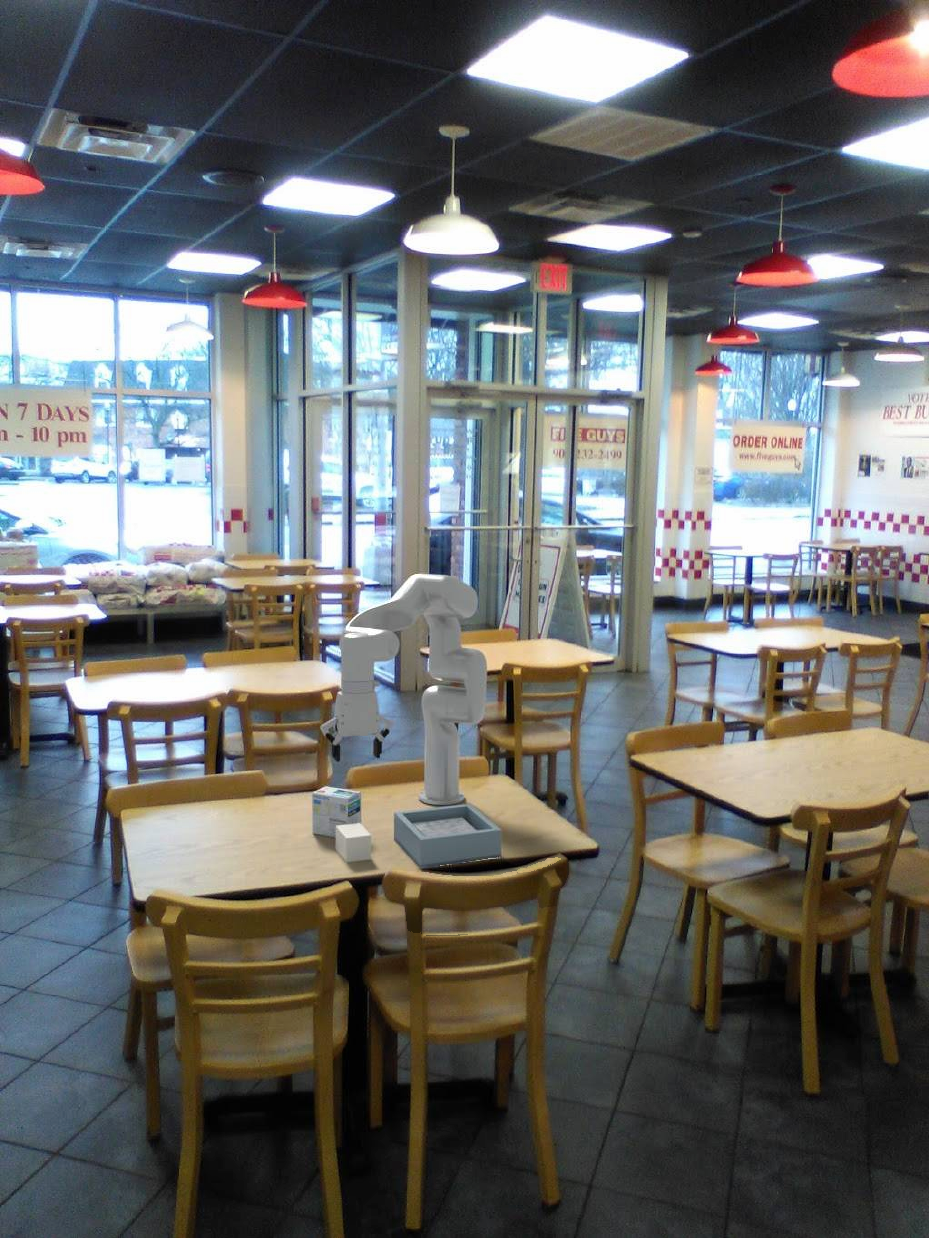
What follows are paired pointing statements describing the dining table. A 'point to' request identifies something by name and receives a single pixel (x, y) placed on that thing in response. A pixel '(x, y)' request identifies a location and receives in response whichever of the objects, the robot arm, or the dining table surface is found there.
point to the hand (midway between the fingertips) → (356, 758)
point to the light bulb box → (334, 809)
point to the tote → (447, 837)
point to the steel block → (443, 827)
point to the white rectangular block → (353, 842)
